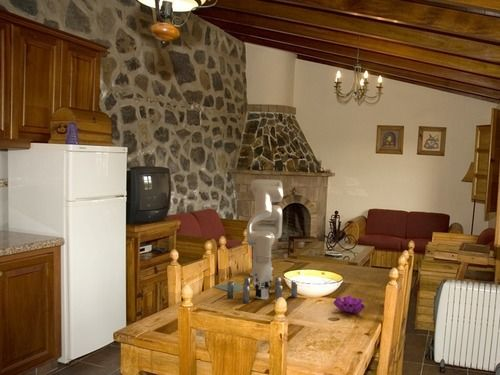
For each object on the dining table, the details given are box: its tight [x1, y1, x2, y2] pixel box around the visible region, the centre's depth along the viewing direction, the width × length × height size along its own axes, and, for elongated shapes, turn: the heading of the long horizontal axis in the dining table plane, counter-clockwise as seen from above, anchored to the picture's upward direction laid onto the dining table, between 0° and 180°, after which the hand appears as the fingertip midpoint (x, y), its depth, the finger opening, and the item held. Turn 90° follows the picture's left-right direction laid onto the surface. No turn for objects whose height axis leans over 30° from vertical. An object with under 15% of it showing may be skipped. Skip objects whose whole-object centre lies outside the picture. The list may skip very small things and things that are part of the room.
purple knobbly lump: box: [333, 295, 366, 314], centre depth 212 cm, size 11×15×10 cm
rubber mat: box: [213, 282, 251, 294], centre depth 247 cm, size 14×14×1 cm
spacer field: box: [226, 276, 298, 305], centre depth 230 cm, size 27×24×8 cm
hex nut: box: [255, 286, 270, 300], centre depth 230 cm, size 6×6×5 cm
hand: (262, 294), depth 230 cm, fingers closed on hex nut, 5 cm apart
